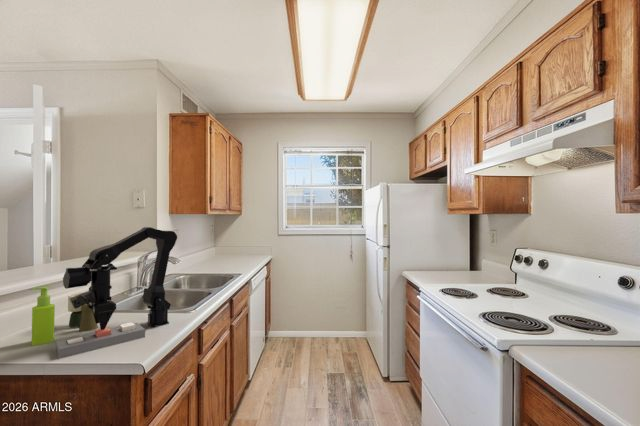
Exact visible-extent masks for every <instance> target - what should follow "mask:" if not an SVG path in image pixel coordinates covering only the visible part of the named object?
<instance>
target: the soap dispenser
mask: <svg viewBox="0 0 640 426" xmlns="http://www.w3.org/2000/svg"><path fill="white" fill-rule="evenodd" d="M50 289H51V286H37V287H33V288H29V290H30V291H34V290H40V295H39V296H37V297H36V298H37V299H36V300H37V301H36V303H37V305H35V306H33V307H32V308H31V346H39V345H40V346H41V345H46V344H49V343H51V342H53V341H54V340H55V307H56V305H55V304H53V303H51V295H49V294H48V290H50Z"/></svg>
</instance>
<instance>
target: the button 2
mask: <svg viewBox="0 0 640 426" xmlns="http://www.w3.org/2000/svg"><path fill="white" fill-rule="evenodd" d="M134 323H135V322H134ZM134 323H133V322H127V323H122V324H120V325H119V327H120V331H121V332H125V331H129V330H134V329H135V324H134Z"/></svg>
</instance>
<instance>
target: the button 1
mask: <svg viewBox="0 0 640 426" xmlns="http://www.w3.org/2000/svg"><path fill="white" fill-rule="evenodd" d="M81 341H84V339H83V338H82V337H80V338H76V339H71V340H67V345H68V344H73V343H77V342H81Z"/></svg>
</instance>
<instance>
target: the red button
mask: <svg viewBox="0 0 640 426" xmlns="http://www.w3.org/2000/svg"><path fill="white" fill-rule="evenodd" d="M110 329H111V328H109V327H106V328H105V329H104V330H101V328H97V329H94V332H95V337H96V338H99V337H103V336H107V335H111V330H110Z"/></svg>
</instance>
